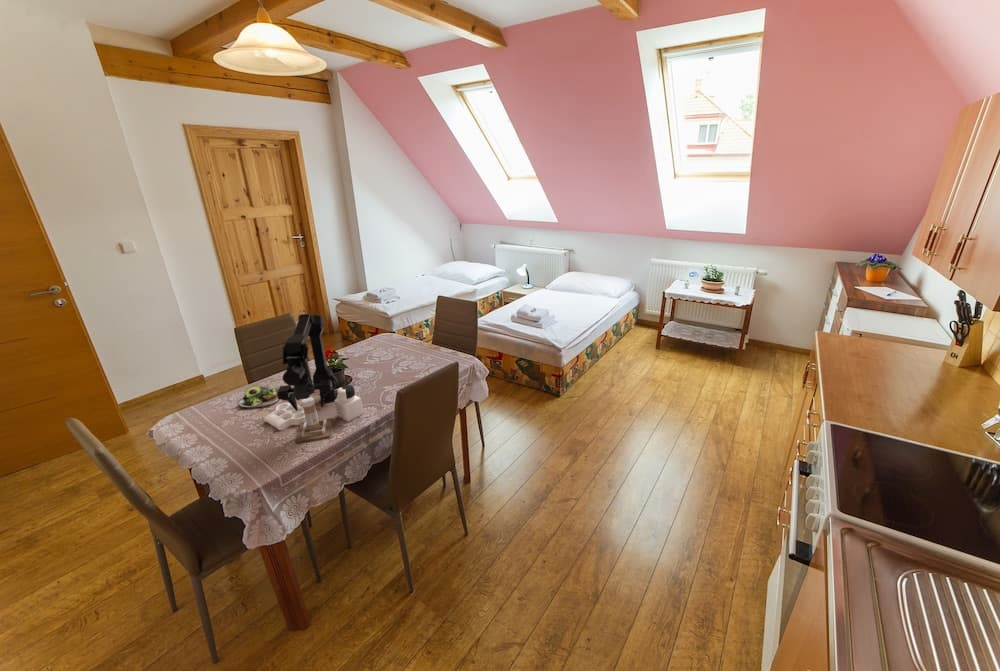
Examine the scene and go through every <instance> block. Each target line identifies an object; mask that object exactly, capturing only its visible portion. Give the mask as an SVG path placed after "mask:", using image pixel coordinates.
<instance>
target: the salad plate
mask: <svg viewBox="0 0 1000 671" xmlns="http://www.w3.org/2000/svg"><path fill="white" fill-rule="evenodd" d="M279 388H280V386H274V387H263V386H259V385H253V386H252V385H251V386H250V387H248V388H247V389H246V390H245V392H244V396H243V398H242V399H240V401H239V403H238V406H239V407H240V408H242V409H247V410H249V409H255V408H263V407H268V406H271V405H274V404H275V403H277V402H279V401H280V400H279V399H278V397H277V392H278V389H279ZM266 401H270V402H268V403H265V402H266ZM262 403H265V404H262Z"/></svg>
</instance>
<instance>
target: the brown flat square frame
mask: <svg viewBox="0 0 1000 671" xmlns="http://www.w3.org/2000/svg"><path fill="white" fill-rule="evenodd" d="M333 421H334V419H333V417H330V418H322V419H319V425H320V429H319V430H316V431H308V425H307V422H304V423H301V425H299V429H298V433H297V436H296V439H295V444H300V443H302V444H303V443H307V442H312V441H318V440H324V439H330V438H331V434H332V433H331V432H332V426H333Z"/></svg>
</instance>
